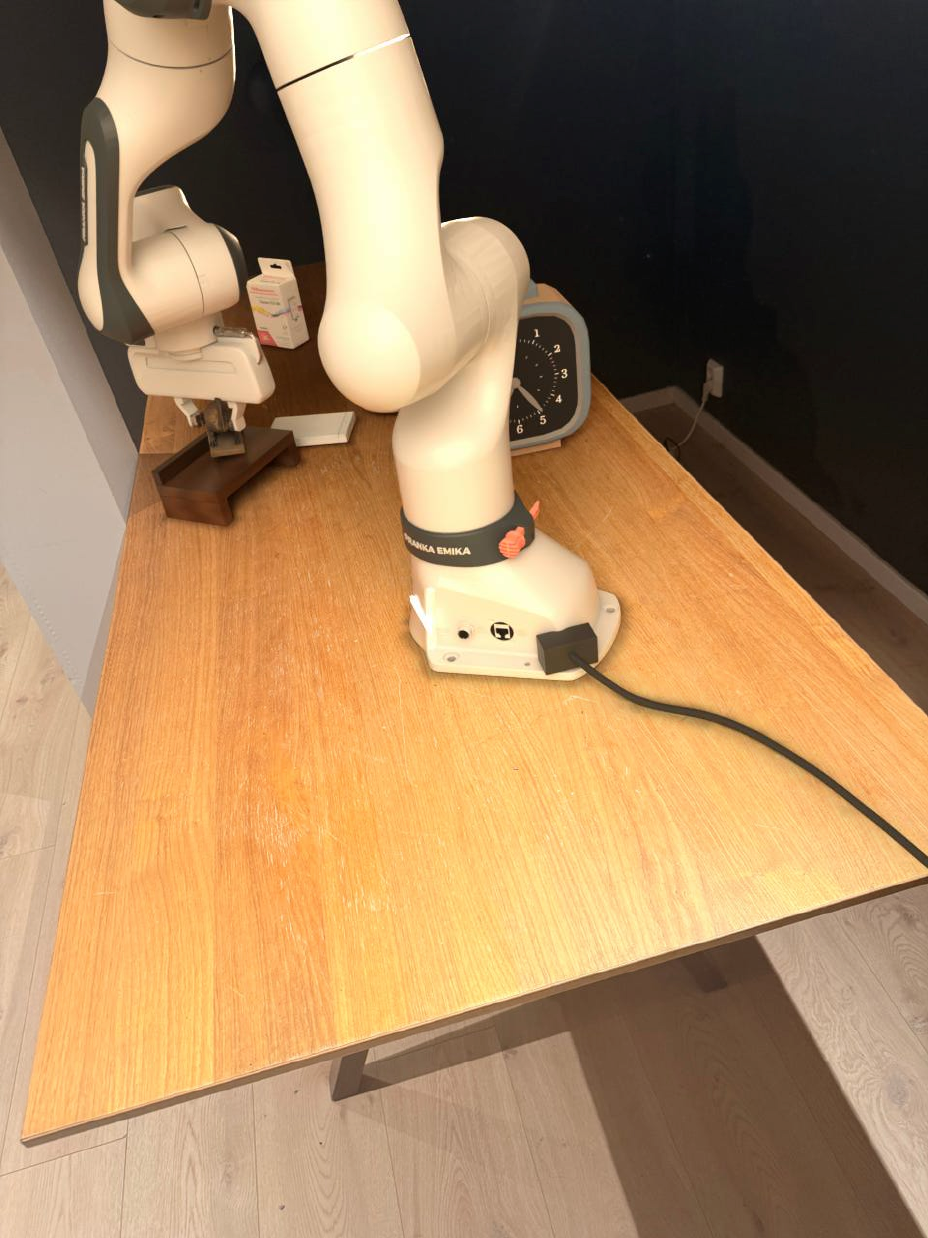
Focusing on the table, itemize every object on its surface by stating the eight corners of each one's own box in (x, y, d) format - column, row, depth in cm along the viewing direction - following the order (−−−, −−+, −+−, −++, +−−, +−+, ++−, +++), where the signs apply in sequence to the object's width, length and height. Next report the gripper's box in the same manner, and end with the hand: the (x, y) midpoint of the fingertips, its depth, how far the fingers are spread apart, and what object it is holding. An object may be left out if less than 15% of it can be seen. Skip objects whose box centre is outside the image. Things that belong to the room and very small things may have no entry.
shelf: (300, 461, 137) (289, 417, 133) (226, 526, 124) (211, 479, 120) (244, 455, 141) (231, 411, 137) (167, 517, 128) (150, 471, 124)
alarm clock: (449, 473, 129) (426, 315, 116) (436, 443, 136) (413, 292, 123) (594, 442, 131) (588, 284, 118) (574, 415, 138) (566, 264, 125)
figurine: (249, 469, 124) (239, 408, 119) (214, 474, 123) (203, 413, 118) (237, 418, 135) (227, 361, 129) (204, 423, 134) (193, 365, 128)
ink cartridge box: (259, 345, 178) (238, 265, 169) (276, 335, 181) (257, 256, 172) (293, 349, 174) (274, 268, 165) (310, 339, 177) (292, 258, 168)
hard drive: (263, 440, 140) (345, 433, 139) (275, 416, 147) (354, 409, 145) (266, 450, 141) (347, 443, 140) (278, 426, 148) (356, 419, 146)
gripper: (269, 318, 116) (295, 422, 125) (142, 314, 125) (174, 411, 133) (239, 338, 112) (268, 444, 120) (109, 332, 120) (144, 431, 128)
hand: (218, 427), depth 127 cm, fingers closed on figurine, 5 cm apart
